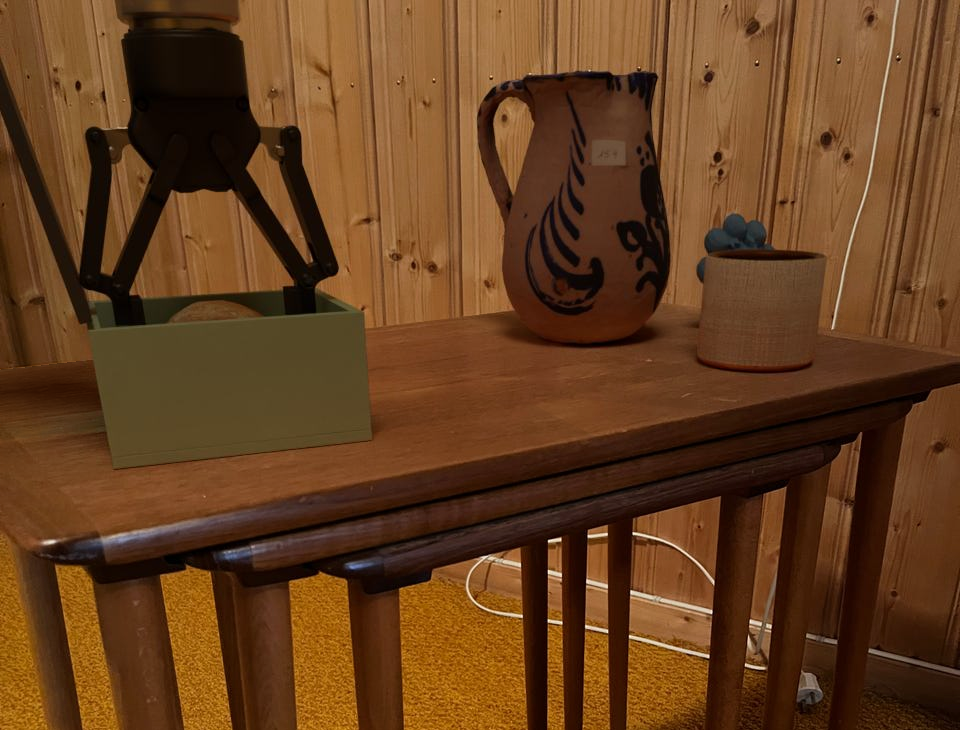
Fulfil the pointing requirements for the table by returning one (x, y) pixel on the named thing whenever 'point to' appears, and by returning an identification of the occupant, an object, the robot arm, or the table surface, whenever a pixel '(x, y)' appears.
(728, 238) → the grapes
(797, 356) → the planter
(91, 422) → the table surface
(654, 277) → the ceramic pitcher
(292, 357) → the olive green storage bin
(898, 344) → the table surface
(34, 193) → the storage bin lid
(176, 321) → the bread roll
